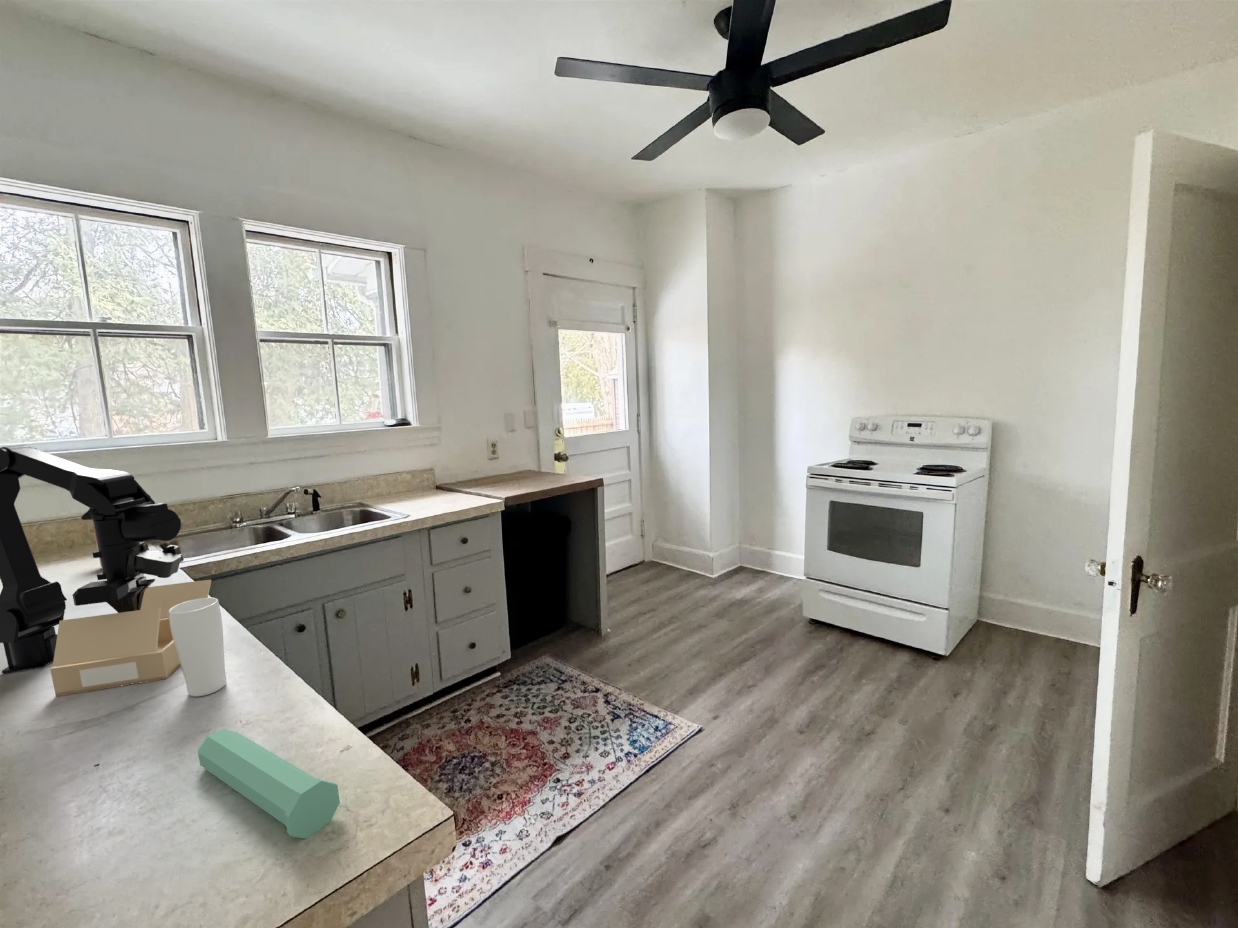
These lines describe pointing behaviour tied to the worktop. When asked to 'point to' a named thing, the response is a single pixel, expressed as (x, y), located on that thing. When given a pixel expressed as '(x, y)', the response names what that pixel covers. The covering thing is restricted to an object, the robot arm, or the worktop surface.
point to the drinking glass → (199, 644)
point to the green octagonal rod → (270, 782)
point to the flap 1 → (107, 636)
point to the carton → (119, 668)
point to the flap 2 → (174, 595)
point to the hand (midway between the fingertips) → (133, 622)
